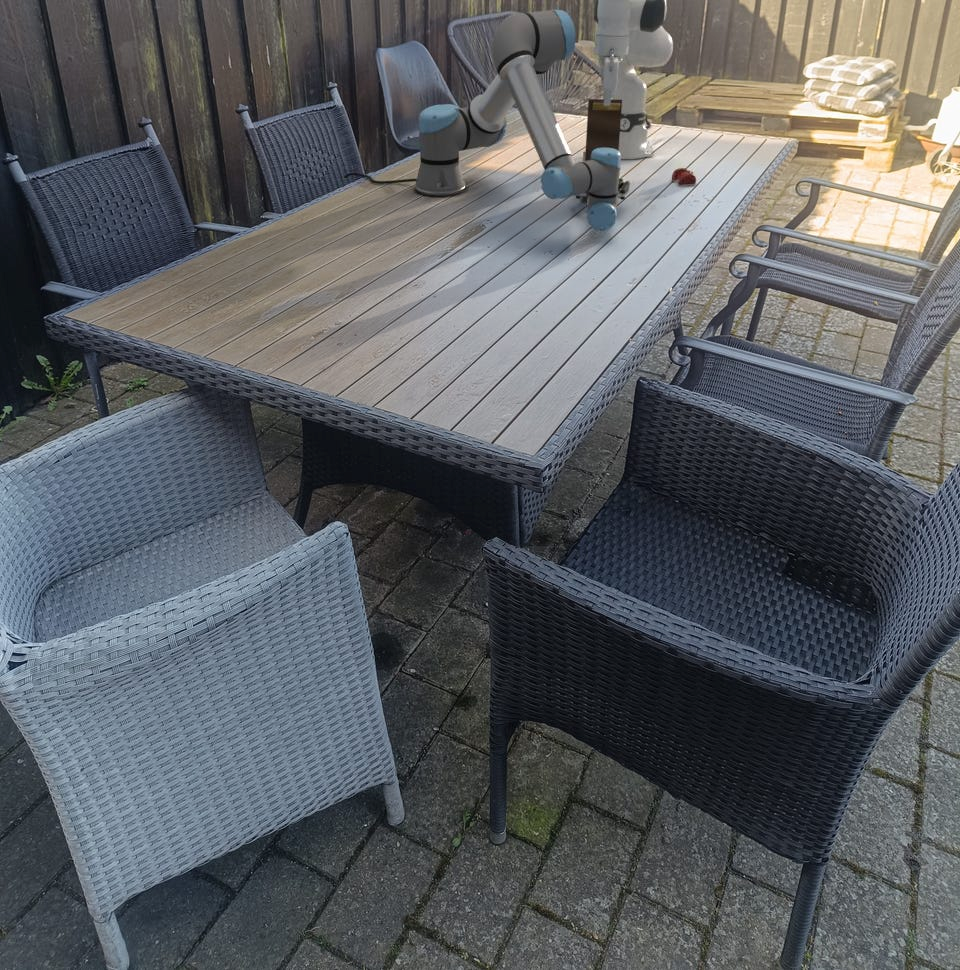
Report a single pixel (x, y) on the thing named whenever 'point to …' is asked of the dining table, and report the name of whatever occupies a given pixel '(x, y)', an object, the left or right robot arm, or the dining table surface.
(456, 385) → the dining table surface
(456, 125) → the left robot arm
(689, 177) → the dark red rounded lump
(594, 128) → the lid
